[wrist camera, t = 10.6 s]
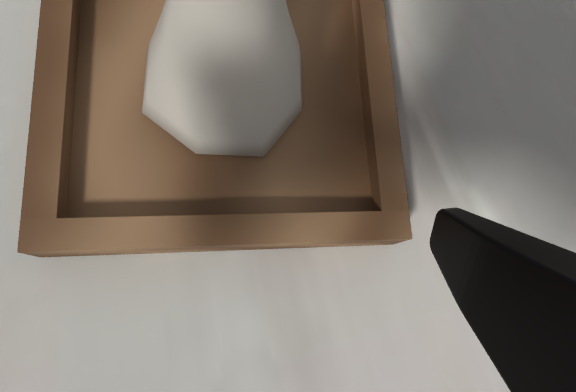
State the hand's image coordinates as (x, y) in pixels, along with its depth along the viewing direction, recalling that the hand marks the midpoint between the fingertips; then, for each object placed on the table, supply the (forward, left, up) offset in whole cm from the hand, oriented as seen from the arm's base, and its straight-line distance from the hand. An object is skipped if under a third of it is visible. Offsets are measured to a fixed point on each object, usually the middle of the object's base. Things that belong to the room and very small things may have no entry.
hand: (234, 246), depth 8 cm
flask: (0, -8, -9) cm, 12 cm away
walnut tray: (0, -8, -10) cm, 13 cm away
